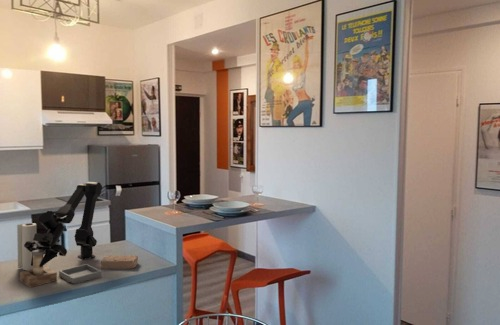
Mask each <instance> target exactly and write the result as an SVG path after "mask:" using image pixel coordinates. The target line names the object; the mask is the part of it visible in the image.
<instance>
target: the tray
mask: <svg viewBox="0 0 500 325" xmlns="http://www.w3.org/2000/svg"><path fill="white" fill-rule="evenodd" d="M58 276H59V277H60V278H61V277H62V278H61V279H63V280H65V281H67V282H68V281H69V282H68V283H70V284H72V285H75V284H79V283H83V282H85V281H89V280H93V279H97V278H101V277H102V270H100V269H99V268H96V267H94V266H92V265H89V264H88V263H86V264H81V265H77V266H72V267H68V268H65V269H62V270H58ZM82 281H83V282H82Z"/></svg>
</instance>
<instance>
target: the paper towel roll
mask: <svg viewBox="0 0 500 325" xmlns="http://www.w3.org/2000/svg"><path fill="white" fill-rule="evenodd" d="M16 228H17V231H16V233H17V238H16V239H17V269H22V270H23V271H28V270H32V269H33V266H31V260H32V252H30V251H29V250H28V249H26V248H25V247H24V244H25V243H26V242H27V241H32V242H35V243H36V244H37V243H38V241H33V238H34V235H35V233H38V232H37V223H35V222H34V223H33V222H29V223H21V224H17V226H16ZM37 245H38V244H37Z"/></svg>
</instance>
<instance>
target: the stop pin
mask: <svg viewBox="0 0 500 325" xmlns="http://www.w3.org/2000/svg"><path fill="white" fill-rule="evenodd" d="M32 255H33V275H34V276H35V275H39V274H43V267H44V265H43V266H42V267H40V266H39V265H40V263H41V261H42V259H43V257H44V255H45V250H34V251H32Z"/></svg>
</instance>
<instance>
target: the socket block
mask: <svg viewBox="0 0 500 325" xmlns="http://www.w3.org/2000/svg"><path fill="white" fill-rule="evenodd" d="M57 275H58V273H57V271H55V270H53V269H51V268H49V267H48V266H43V274H39V275H35V276H34V275H33V269H32V270H23V271H21V272H19V281H21V282H22V283H23V284H25V285H26V286H28V287H29V288H33V287H36V286H41V285H44V284H48V283H51V282H55V281H57V280H58V277H57Z"/></svg>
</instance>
